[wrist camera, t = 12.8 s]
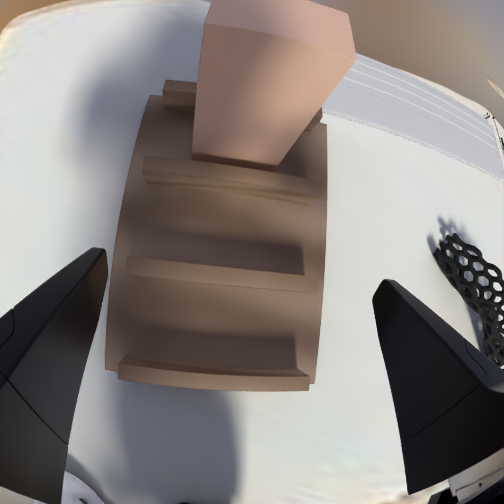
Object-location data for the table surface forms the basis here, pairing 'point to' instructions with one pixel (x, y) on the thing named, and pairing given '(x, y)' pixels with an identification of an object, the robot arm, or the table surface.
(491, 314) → the decorative element
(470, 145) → the baseboard molding
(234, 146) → the pinkish tan block
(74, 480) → the baby figurine
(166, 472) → the table surface
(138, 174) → the drying rack
